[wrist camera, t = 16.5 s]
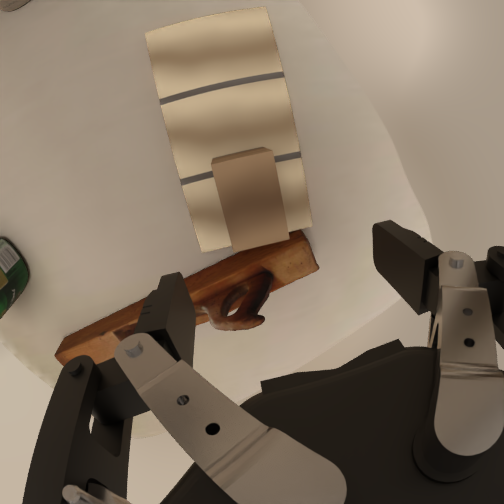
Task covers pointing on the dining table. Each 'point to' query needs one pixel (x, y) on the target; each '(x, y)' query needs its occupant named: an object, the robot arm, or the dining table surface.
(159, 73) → the board
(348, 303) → the dining table surface
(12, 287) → the coffee jar
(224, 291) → the hand plane
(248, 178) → the block
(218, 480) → the robot arm
